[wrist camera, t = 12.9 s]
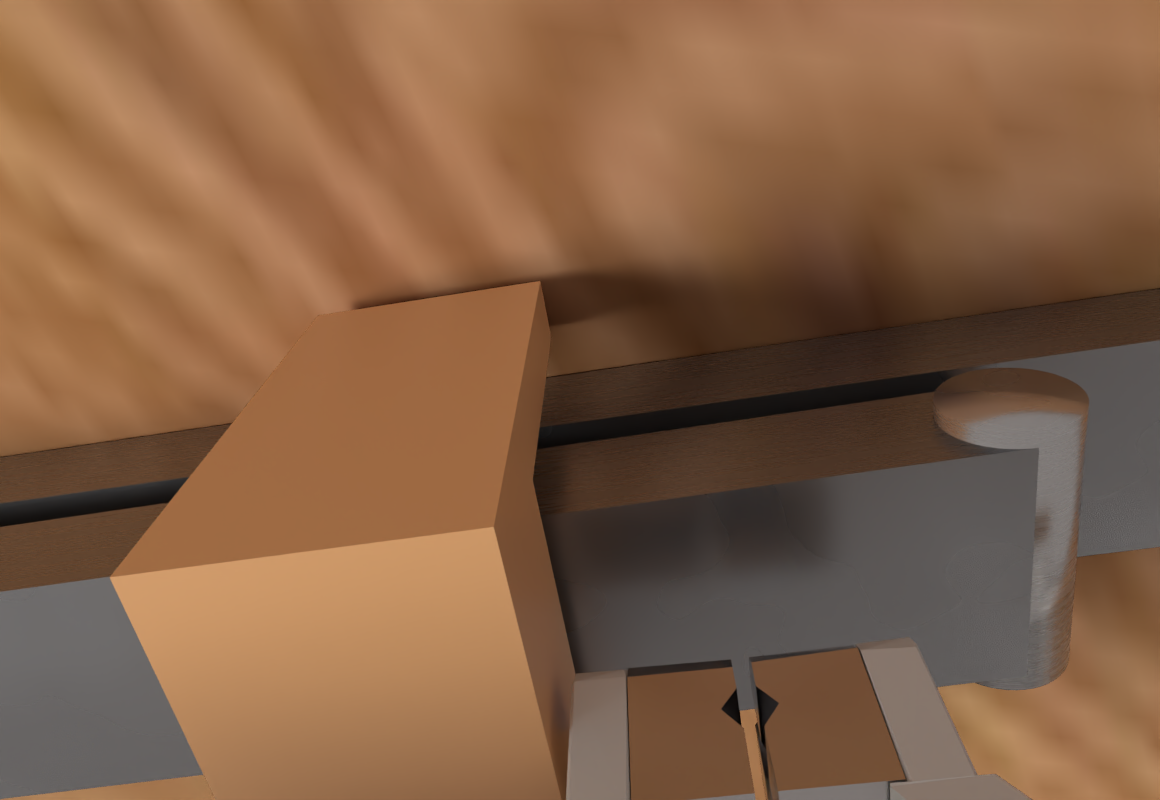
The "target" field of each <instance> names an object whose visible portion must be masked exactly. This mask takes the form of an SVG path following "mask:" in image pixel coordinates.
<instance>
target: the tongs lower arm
mask: <svg viewBox="0 0 1160 800" xmlns="http://www.w3.org/2000/svg"><path fill="white" fill-rule="evenodd" d="M989 368H1025V369H1033V370H1039V371H1044V372H1049V373H1052V374H1056V375H1059V376H1062V377H1064V378H1067V379H1069V380H1071V381H1073V382H1074V383H1076V384H1078V385H1079V386H1080V387H1082V389H1083V390H1084V391H1085V392H1086V393H1087V395H1088V398H1089V411H1088V423H1087V436H1086V448H1085V461H1084V474H1083V486H1082V499H1081V512H1080V524H1079V537H1078V550H1077V557H1080V556H1088V555H1096V554H1105V553H1113V552H1121V551H1129V550H1138V549H1146V548H1154V547H1160V289H1154V290H1147V291H1140V292H1133V293H1126V294H1119V295H1113V296H1106V297H1099V298H1092V299H1085V300H1078V301H1071V302H1065V303H1058V304H1051V305H1044V306H1037V307H1030V308H1023V309H1016V310H1010V311H1003V312H996V313H989V314H982V315H975V316H968V317H962V318H955V319H948V320H941V321H934V322H927V323H920V324H914V325H907V326H900V327H893V328H886V329H879V330H872V331H866V332H859V333H852V334H845V335H838V336H831V337H824V338H817V339H811V340H804V341H797V342H790V343H783V344H776V345H769V346H763V347H756V348H749V349H742V350H735V351H728V352H721V353H715V354H708V355H701V356H694V357H687V358H680V359H673V360H666V361H660V362H653V363H646V364H639V365H632V366H625V367H618V368H612V369H605V370H598V371H591V372H584V373H577V374H570V375H564V376H557V377H550V378H546V382H545V390H544V398H543V405H542V413H541V420H540V428H539V436H538V443H537V449H543V448H550V447H557V446H564V445H571V444H578V443H584V442H591V441H598V440H605V439H612V438H619V437H626V436H633V435H640V434H647V433H654V432H660V431H667V430H674V429H681V428H688V427H695V426H702V425H709V424H716V423H723V422H730V421H736V420H743V419H750V418H757V417H764V416H771V415H778V414H785V413H792V412H799V411H806V410H812V409H819V408H826V407H833V406H840V405H847V404H854V403H861V402H868V401H875V400H882V399H889V398H895V397H902V396H909V395H916V394H923V393H930V392H935V390H936V389H937V388H938V387H939V386H940V385H941V384H942V383H943V382H945V381H946V380H948V379H950V378H952V377H954V376H957V375H960V374H963V373H966V372H970V371H975V370H981V369H989ZM230 425H231V424H227V425H220V426H214V427H207V428H200V429H193V430H186V431H179V432H172V433H166V434H159V435H152V436H145V437H138V438H131V439H124V440H117V441H111V442H104V443H97V444H90V445H83V446H76V447H69V448H63V449H56V450H49V451H42V452H35V453H28V454H21V455H15V456H8V457H1V458H0V527H4V526H11V525H18V524H25V523H32V522H38V521H45V520H52V519H59V518H66V517H73V516H80V515H87V514H94V513H101V512H108V511H114V510H121V509H128V508H135V507H142V506H149V505H156V504H163V503H169V502H170V501H171V499H172V498H173V497H174V496H175V494H176V493H177V492H178V491H179V489H180V488H181V487H182V486H183V484H184V483H185V482H186V481H187V479H188V478H189V477H190V476H191V474H192V473H193V472H194V471H195V469H196V468H197V467H198V466H199V464H200V463H201V462H202V461H203V459H204V458H205V457H206V456H207V454H208V453H209V452H210V450H211V449H212V448H213V447H214V445H215V444H216V443H217V442H218V440H219V439H220V438H221V437H222V435H223V434H224V433H225V432H226V430H227V429H228V428H229V427H230Z"/></svg>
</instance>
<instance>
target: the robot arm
mask: <svg viewBox="0 0 1160 800" xmlns="http://www.w3.org/2000/svg"><path fill="white" fill-rule="evenodd" d="M749 671H750V681H751V690H752V695H753V701H754V706H755V711H756V717H757V723H756V725H755V727H756V734H757V742H758V749H759V757H760V765H761V772H762V780H763V786H764V791H765V797H766V800H1032V799H1031V798H1029V797H1028V796H1027V795H1025V794H1024V793H1022V792H1021V791H1019V790H1018V789H1017V788H1015V787H1014V786H1012V785H1011V784H1009V783H1008V782H1006V781H1005V780H1004V779H1002V778H1001V777H999V776H998V775H996V774H988V775H977V773H976V771H975V769H974V767H973V764H972V762H971V760H970V758H969V756H968V754H967V751H966V749H965V747H964V745H963V743H962V741H961V738H960V736H959V734H958V732H957V730H956V728H955V726H954V723H953V721H952V719H951V717H950V715H949V713H948V710H947V708H946V706H945V704H944V702H943V700H942V697H941V695H940V693H939V691H938V689H937V687H936V685H935V682H934V680H933V678H932V676H931V674H930V672H929V669H928V667H927V665H926V663H925V661H924V659H923V656H922V654H921V652H920V650H919V648H918V646H917V644H916V643H915V642H914V641H913V640H912V639H910V638H909V637H906V638H898V639H890V640H882V641H874V642H867V643H859V644H855V646H852V645H849V646H841V647H832V648H824V649H815V650H807V651H798V652H789V653H781V654H772V655H764V656H755V657H749ZM566 800H755V793H754V787H753V781H752V775H751V769H750V763H749V757H748V751H747V745H746V739H745V733H744V728H743V727H742V726H741V719H740V711H739V704H738V696H737V688H736V683H735V678H734V673H733V667H732V662H731V659H729V660H717V661H706V662H694V663H682V664H671V665H659V666H647V667H635V668H628V670H613V671H601V672H589V673H577V674H576V675H575V678H574V680H573V683H572V688H571V708H570V729H569V749H568V769H567V789H566Z"/></svg>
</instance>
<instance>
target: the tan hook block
mask: <svg viewBox="0 0 1160 800" xmlns="http://www.w3.org/2000/svg"><path fill="white" fill-rule="evenodd" d="M550 344H551V333H550V328H549V323H548V318H547V313H546V308H545V303H544V297H543V292H542V287H541V282H540V281H537V282H530V283H524V284H517V285H511V286H504V287H498V288H492V289H485V290H479V291H472V292H466V293H459V294H453V295H447V296H440V297H434V298H427V299H421V300H414V301H408V302H402V303H395V304H389V305H382V306H376V307H369V308H363V309H357V310H350V311H344V312H337V313H331V314H324V315H318V316H317V317H316V319H315V320H314V321H313V322H312V324H311V325H310V326H309V327H308V329H307V330H306V331H305V332H304V334H303V335H302V336H301V337H300V339H299V340H298V341H297V342H296V344H295V345H294V346H293V347H292V349H291V350H290V351H289V352H288V354H287V355H286V356H285V357H284V359H283V360H282V361H281V363H280V364H279V365H278V366H277V368H276V369H275V370H274V371H273V373H272V374H271V375H270V376H269V378H268V379H267V380H266V381H265V383H264V384H263V385H262V386H261V388H260V389H259V390H258V391H257V393H256V394H255V395H254V396H253V398H252V399H251V400H250V401H249V403H248V404H247V405H246V407H245V408H244V409H243V410H242V412H241V413H240V414H239V415H238V417H237V418H236V419H235V420H234V422H233V423H232V424H231V425H230V427H229V428H228V429H227V430H226V432H225V433H224V434H223V435H222V437H221V438H220V439H219V440H218V442H217V443H216V444H215V445H214V447H213V448H212V449H211V450H210V452H209V453H208V454H207V456H206V457H205V458H204V459H203V461H202V462H201V463H200V464H199V466H198V467H197V468H196V469H195V471H194V472H193V473H192V474H191V476H190V477H189V478H188V479H187V481H186V482H185V483H184V484H183V486H182V487H181V488H180V489H179V491H178V492H177V493H176V494H175V496H174V497H173V498H172V499H171V501H170V502H169V503H168V505H167V506H166V507H165V508H164V510H163V511H162V512H161V513H160V515H159V516H158V517H157V518H156V520H155V521H154V522H153V523H152V525H151V526H150V527H149V528H148V530H147V531H146V532H145V533H144V535H143V536H142V537H141V538H140V540H139V541H138V542H137V543H136V545H135V546H134V547H133V549H132V550H131V551H130V552H129V554H128V555H127V556H126V557H125V559H124V560H123V561H122V562H121V564H120V565H119V566H118V567H117V569H116V570H115V571H114V572H113V574H112V575H111V576H110V580H111V582H112V584H113V586H114V588H115V590H116V592H117V594H118V596H119V598H120V601H121V603H122V605H123V607H124V609H125V611H126V613H127V615H128V617H129V619H130V622H131V624H132V626H133V628H134V630H135V632H136V634H137V636H138V638H139V640H140V642H141V645H142V647H143V649H144V651H145V653H146V655H147V657H148V659H149V661H150V663H151V666H152V668H153V670H154V672H155V674H156V676H157V678H158V680H159V682H160V684H161V687H162V689H163V691H164V693H165V695H166V697H167V699H168V701H169V703H170V705H171V708H172V710H173V712H174V714H175V716H176V718H177V720H178V722H179V724H180V726H181V728H182V731H183V733H184V735H185V737H186V739H187V741H188V743H189V745H190V747H191V749H192V752H193V754H194V756H195V758H196V760H197V762H198V764H199V766H200V768H201V770H202V773H203V775H204V777H205V779H206V781H207V783H208V785H209V787H210V789H211V791H212V794H213V796H214V798H215V800H566V789H567V769H568V749H569V729H570V708H571V688H572V683H573V680H574V678H575V675H576V674H575V670H574V665H573V660H572V656H571V651H570V647H569V642H568V638H567V633H566V629H565V624H564V620H563V615H562V611H561V606H560V602H559V597H558V593H557V588H556V583H555V579H554V574H553V570H552V565H551V561H550V556H549V552H548V547H547V543H546V538H545V534H544V529H543V525H542V520H541V516H540V511H539V507H538V502H537V497H536V493H535V488H534V484H533V474H534V466H535V459H536V451H537V443H538V436H539V428H540V420H541V413H542V405H543V398H544V390H545V382H546V375H547V367H548V360H549V352H550Z"/></svg>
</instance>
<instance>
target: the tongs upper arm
mask: <svg viewBox="0 0 1160 800" xmlns="http://www.w3.org/2000/svg"><path fill="white" fill-rule="evenodd" d="M1088 411H1089V398H1088V395H1087V393H1086V392H1085V391H1084V390H1083V389H1082V387H1080V386H1079V385H1078V384H1076V383H1074V382H1073V381H1071V380H1069V379H1067V378H1064V377H1062V376H1059V375H1056V374H1052V373H1049V372H1044V371H1039V370H1033V369H1025V368H989V369H981V370H975V371H970V372H966V373H963V374H960V375H957V376H954V377H952V378H950V379H948V380H946V381H945V382H943V383H942V384H941V385H940V386H939V387H938V388H937V389H936V390H935V392H930V393H923V394H916V395H909V396H902V397H895V398H889V399H882V400H875V401H868V402H861V403H854V404H847V405H840V406H833V407H826V408H819V409H812V410H806V411H799V412H792V413H785V414H778V415H771V416H764V417H757V418H750V419H743V420H736V421H730V422H723V423H716V424H709V425H702V426H695V427H688V428H681V429H674V430H667V431H660V432H654V433H647V434H640V435H633V436H626V437H619V438H612V439H605V440H598V441H591V442H584V443H578V444H571V445H564V446H557V447H550V448H543V449H537V451H536V459H535V466H534V474H533V484H534V488H535V493H536V497H537V502H538V507H539V511H540V516H541V520H542V525H543V529H544V534H545V538H546V543H547V547H548V552H549V556H550V561H551V565H552V570H553V574H554V579H555V583H556V588H557V593H558V597H559V602H560V606H561V611H562V615H563V620H564V624H565V629H566V633H567V638H568V642H569V647H570V651H571V656H572V660H573V665H574V670H575V674H577V673H589V672H601V671H613V670H628V668H635V667H647V666H659V665H671V664H682V663H694V662H706V661H717V660H729V659H731V662H732V667H733V673H734V678H735V683H736V688H737V696H738V704H739V711H740V710H748V709H755V706H754V701H753V695H752V690H751V681H750V671H749V657H755V656H764V655H772V654H781V653H789V652H798V651H807V650H815V649H824V648H832V647H841V646H849V645H852V646H855V644H859V643H867V642H874V641H882V640H890V639H898V638H906V637H909V638H910V639H912V640H913V641H914V642H915V643H916V644H917V646H918V648H919V650H920V652H921V654H922V656H923V659H924V661H925V663H926V665H927V667H928V669H929V672H930V674H931V676H932V678H933V680H934V682H935V685H936V687H941V686H949V685H957V684H966V683H977V684H980V685H983V686H987V687H991V688H996V689H1004V690H1026V689H1032V688H1036V687H1040V686H1043V685H1046V684H1048V683H1050V682H1052V681H1054V680H1055V679H1057V678H1058V677H1059V676H1060V675H1061V674H1062V673H1063V672H1064V671H1065V669H1066V667H1067V665H1068V661H1069V651H1070V638H1071V625H1072V613H1073V600H1074V588H1075V575H1076V562H1077V550H1078V537H1079V524H1080V512H1081V499H1082V486H1083V474H1084V461H1085V448H1086V436H1087V423H1088ZM167 505H168V503H163V504H156V505H149V506H142V507H135V508H128V509H121V510H114V511H108V512H101V513H94V514H87V515H80V516H73V517H66V518H59V519H52V520H45V521H38V522H32V523H25V524H18V525H11V526H4V527H0V799H4V798H12V797H20V796H29V795H37V794H45V793H54V792H62V791H70V790H79V789H87V788H96V787H104V786H112V785H121V784H129V783H137V782H146V781H154V780H162V779H171V778H179V777H188V776H196V775H203V773H202V770H201V768H200V766H199V764H198V762H197V760H196V758H195V756H194V754H193V752H192V749H191V747H190V745H189V743H188V741H187V739H186V737H185V735H184V733H183V731H182V728H181V726H180V724H179V722H178V720H177V718H176V716H175V714H174V712H173V710H172V708H171V705H170V703H169V701H168V699H167V697H166V695H165V693H164V691H163V689H162V687H161V684H160V682H159V680H158V678H157V676H156V674H155V672H154V670H153V668H152V666H151V663H150V661H149V659H148V657H147V655H146V653H145V651H144V649H143V647H142V645H141V642H140V640H139V638H138V636H137V634H136V632H135V630H134V628H133V626H132V624H131V622H130V619H129V617H128V615H127V613H126V611H125V609H124V607H123V605H122V603H121V601H120V598H119V596H118V594H117V592H116V590H115V588H114V586H113V584H112V582H111V580H110V576H111V575H112V574H113V572H114V571H115V570H116V569H117V567H118V566H119V565H120V564H121V562H122V561H123V560H124V559H125V557H126V556H127V555H128V554H129V552H130V551H131V550H132V549H133V547H134V546H135V545H136V543H137V542H138V541H139V540H140V538H141V537H142V536H143V535H144V533H145V532H146V531H147V530H148V528H149V527H150V526H151V525H152V523H153V522H154V521H155V520H156V518H157V517H158V516H159V515H160V513H161V512H162V511H163V510H164V508H165V507H166V506H167Z"/></svg>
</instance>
